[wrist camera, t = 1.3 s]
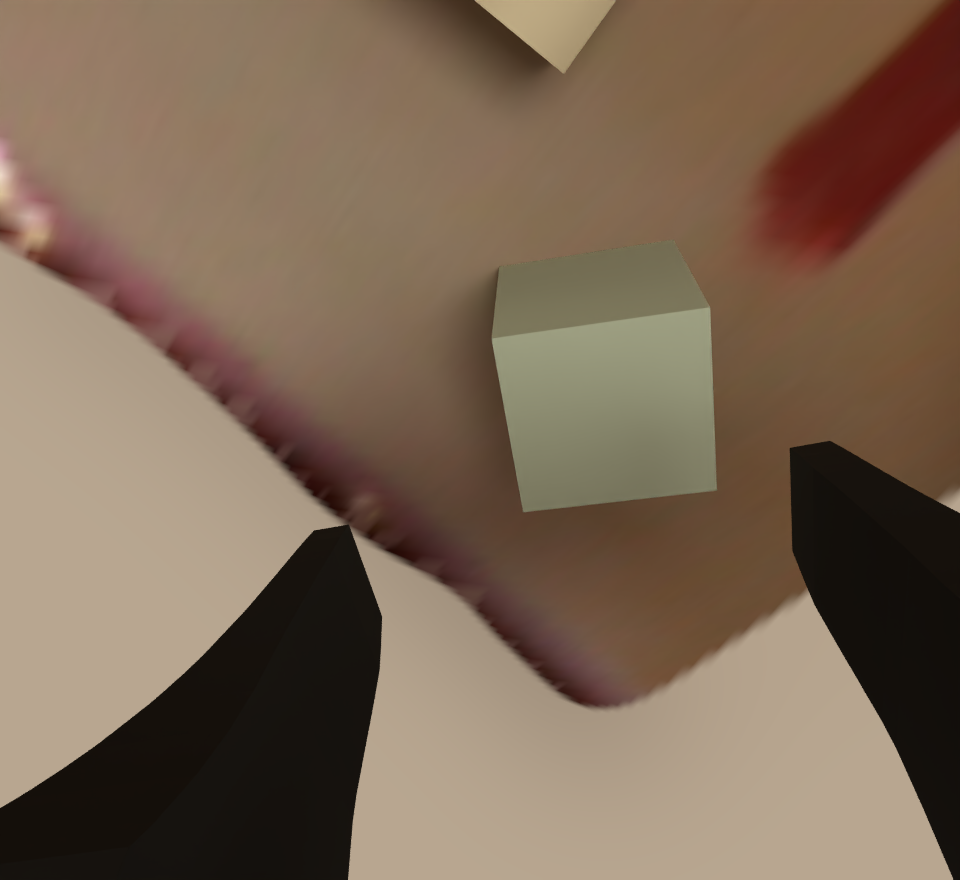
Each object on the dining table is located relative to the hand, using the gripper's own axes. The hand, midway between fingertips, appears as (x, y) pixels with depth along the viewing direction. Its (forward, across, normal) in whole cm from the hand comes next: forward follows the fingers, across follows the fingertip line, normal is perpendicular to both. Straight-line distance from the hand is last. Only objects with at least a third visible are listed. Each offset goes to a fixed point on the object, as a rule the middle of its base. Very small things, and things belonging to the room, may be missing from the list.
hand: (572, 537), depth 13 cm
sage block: (+10, -1, +1) cm, 10 cm away
